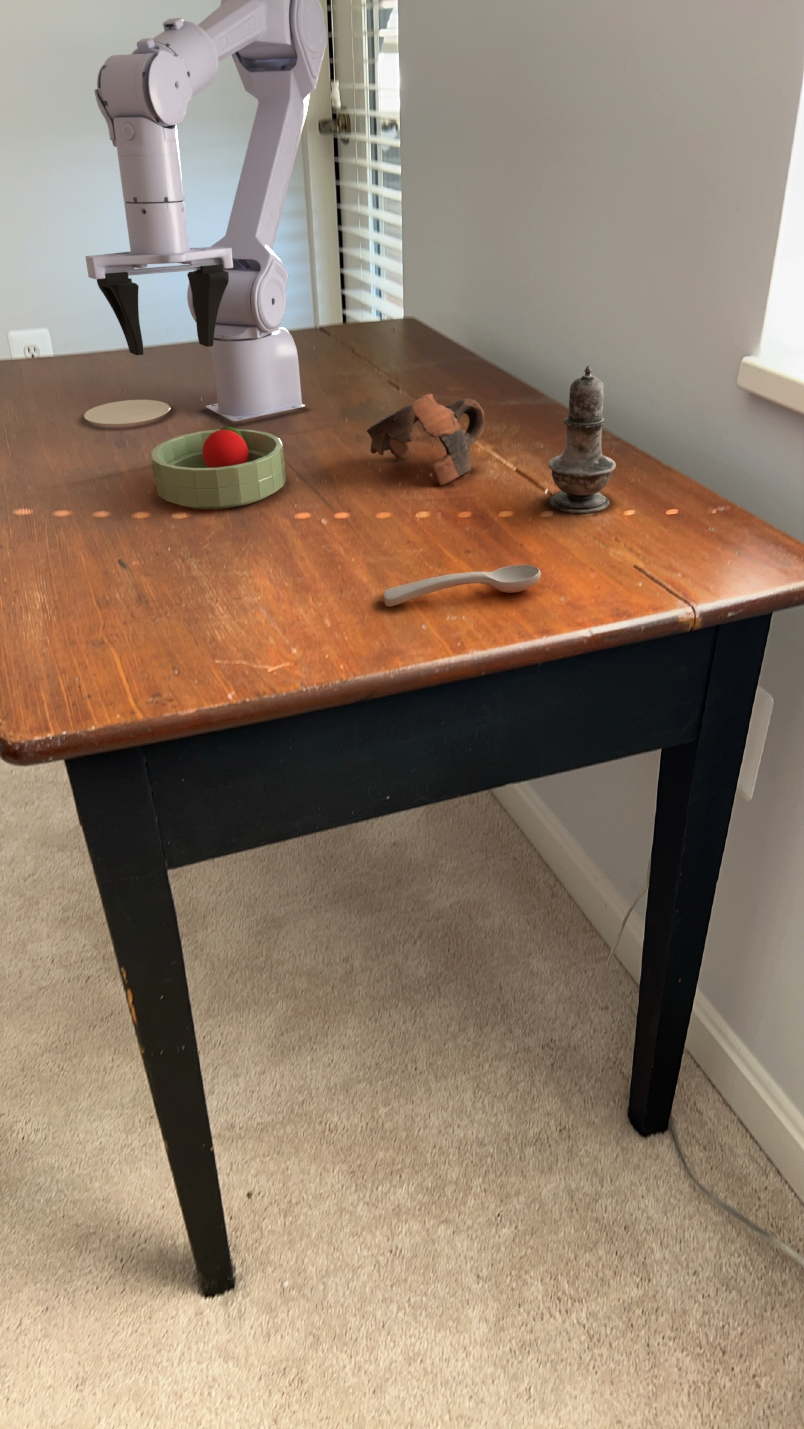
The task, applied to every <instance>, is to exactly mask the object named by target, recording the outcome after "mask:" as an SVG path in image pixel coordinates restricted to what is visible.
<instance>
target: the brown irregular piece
mask: <svg viewBox="0 0 804 1429" xmlns="http://www.w3.org/2000/svg"><path fill="white" fill-rule="evenodd" d="M464 414H466V415H467V417H468V425H467V429H465V430H466V431H465V430H463V428H462V425H461V424H460V421H461V419H462V416H463V415H464ZM417 422H419V423H420V424H421V426H422V429H423V431H424V432H425V433H427V434H428V435H429V436H430V437H432V438H439V441H440V443H441V445H442V446H443V447H444V449H445V455H444V456H443V457H442V458H440V459H439V460H438V461H435V462H434V463H432V465H431V469H432V471H433V473H434V474H435V476H436V480H437V481H438V485H439V486H441V487H442V486H445V485H446V484H449V483H450V482H453V481H454V480H455V479H458V478H459V477H460V476H463V475H464V474H467V473H470V471H471V470H472V466H471V459H470V451H471V447H473V445H474V444H475V443H476V442H477V441H478V440H479V438H480V437H481V435H482V433H483V430H484V427H485V422H486V421H485V411H484V409H483V408H482V406H481V405H480V403H478V402H477V401H476V400H474V399H472V398H462V399H460V400H457V401H456V402H453V403H452V404H449V405H445V406H444V405H442V404H439V403H437V402H436V400H435V398H434V396H433V394H432V393H428V394H424V395H423V396H421V397H420V398H418V399H416V400H414V401H412V402H411V403H409V404H408V405H405V406H403V407H402V408H400V409H398V410H396V411H395V412H392V413H391V414H389V415H387V416H385V417H384V418H382V419H381V420H378V421H377V422H375V423H374V424H372V425H370V426H369V428H367V429H366V433H367V434H368V435H369V437H370V438H371V441H370V442H371V443H370V453H371V454H373V455H374V454H376V453H378V455H380V456H382V457H383V456H384V455H385V452H386V451H390V454H392V455H393V456H394V457H395V458H396V459H398V460H401V459H402V458H403V457H404V456H406V455H407V454H408V452H409V451H410V446H409V443H411V442H413V437H412V434H411V433H412V430H413V425H415V424H416V423H417Z"/></svg>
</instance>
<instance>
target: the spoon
mask: <svg viewBox="0 0 804 1429" xmlns="http://www.w3.org/2000/svg"><path fill="white" fill-rule="evenodd" d="M541 574H542V573H541V571H540V569H539V568H538V567H537V566H536V565H530V564H514V565H507V566H503V567H500V568H497V569H495V570H492V571H468V572H467V571H466V572H457V573H456V572H455V573H450V574H444V575H438V576H433V577H428V578H425V579H421V580H418V581H417V580H416V581H413V582H409V583H404V584H401V585H397V586H393V587H390V588H387V589H386V590H383V601H384V604H385V606H386V607H388V608H391V607H394V606H397V605H400V604H403V603H406V602H408V601H411V600H414V599H417V598H420V597H422V596H425V595H428V594H432V593H434V592H439V591H441V590H442V591H443V590H445V589H450V588H454V587H458V586H463V585H471V584H480V585H485V586H489V587H492V588H494V589H495V590H497V591H499V592H502V593H507V594H509V593H511V594H512V593H520V592H524V591H526V590H529V589H531V588H533V587H534V586H535V585H537V583H539V581H540V580H541V576H542V575H541Z"/></svg>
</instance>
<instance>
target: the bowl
mask: <svg viewBox="0 0 804 1429" xmlns="http://www.w3.org/2000/svg"><path fill="white" fill-rule="evenodd" d="M220 429H221V428H218V429H217V428H216V429H210V430H200V431H195V432H191V433H185V434H182V435H178V436H176V437H173V438H169V439H167V440H165V441H163V442H161V443H159V444H157V445H156V446H155V447H154V448H153V449H152V450H151V453H150V457H151V464H152V470H153V475H154V481H155V486H156V491H157V495H158V496H159V497H160V498H161V499H163V500H164V501H165V502H169V503H172V504H175V505H178V506H181V507H185V508H189V509H197V510H198V509H199V510H221V509H229V508H231V509H232V508H236V507H242V506H245V505H250V504H253V503H256V502H260V501H262V500H264V499H266V498H267V497H269V496H271V495H273V494H276V493H277V492H278V491H279V490H280V489H282V488H283V487H284V486H285V483H286V481H287V473H286V472H287V471H286V462H285V454H284V452H285V451H284V444H283V442H282V440H281V439H280V438H279V437H278V436H276V435H274V434H272V433H269V432H266V431H260V430H256V429H246V428H236V429H237V430H238V431H239V432H240V433H241V435H242V438H243V439H244V441H245V443H246V445H247V447H248V461H247V463H243V464H238V465H233V466H225V467H217V468H208V467H207V466H206V464H205V462H204V459H203V454H202V450H203V445H204V442H205V440H206V439H207V438H208V436H210V435H211V434H212V433H214V432H216V431H218V430H220Z"/></svg>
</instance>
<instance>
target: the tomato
mask: <svg viewBox="0 0 804 1429" xmlns="http://www.w3.org/2000/svg"><path fill="white" fill-rule="evenodd" d="M219 429H220V430H218V431H216V432H214V433H212V434H211V435H210V436H208V438H207V439H206V440H205V442H204V445H203V450H202V454H203V459H204V462H205V464H206V466H207V467H208V468H217V467H225V466H233V465H238V464H243V463H247V461H248V447H247V445H246V443H245V441H244V439H243V438H242V435H241V433H240V432H239V431H238V430H237V429H238V428H235V427H232V426H224V427H221V428H219Z"/></svg>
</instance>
